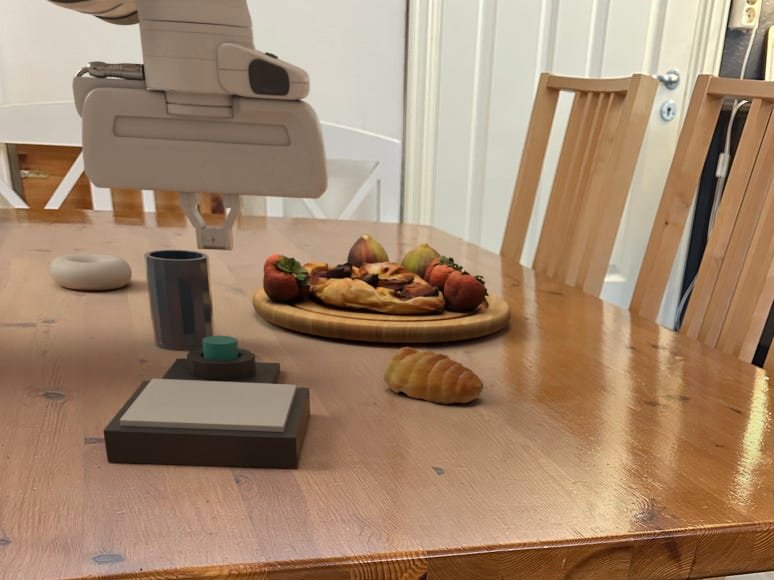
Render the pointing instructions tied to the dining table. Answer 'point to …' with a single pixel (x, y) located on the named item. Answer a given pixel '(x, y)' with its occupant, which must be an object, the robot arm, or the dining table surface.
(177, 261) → the cup
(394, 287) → the wooden plate
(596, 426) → the dining table surface
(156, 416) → the scale
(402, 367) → the pastry
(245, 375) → the pad
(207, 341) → the tare button
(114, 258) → the donut
